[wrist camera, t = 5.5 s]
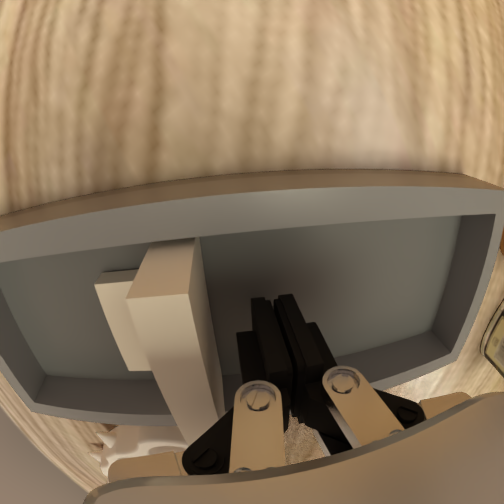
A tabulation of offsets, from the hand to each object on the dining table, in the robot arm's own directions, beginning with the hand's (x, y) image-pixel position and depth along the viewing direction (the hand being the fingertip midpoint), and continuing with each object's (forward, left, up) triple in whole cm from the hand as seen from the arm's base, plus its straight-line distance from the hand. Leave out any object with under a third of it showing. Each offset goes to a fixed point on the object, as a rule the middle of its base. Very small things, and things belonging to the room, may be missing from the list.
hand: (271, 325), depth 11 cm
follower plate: (0, +5, -1) cm, 5 cm away
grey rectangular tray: (0, +1, -3) cm, 3 cm away
